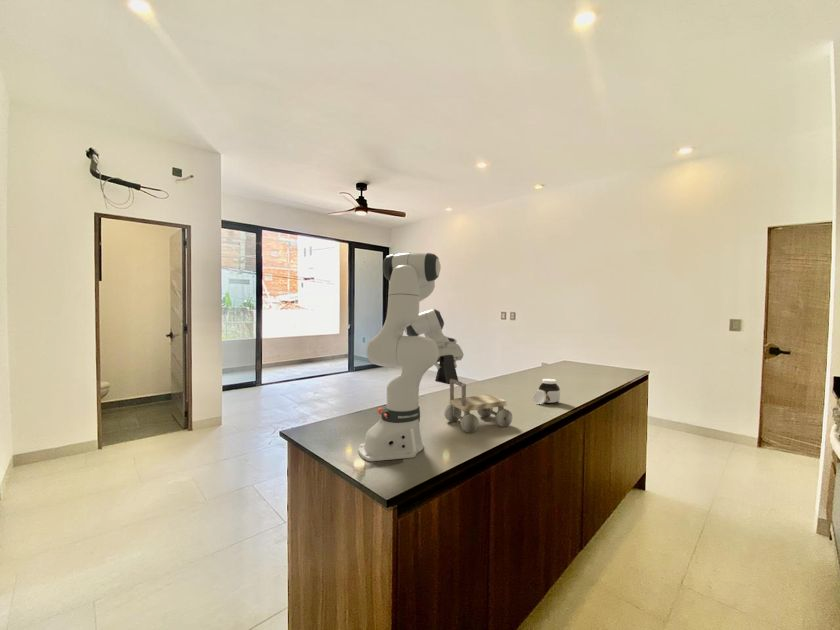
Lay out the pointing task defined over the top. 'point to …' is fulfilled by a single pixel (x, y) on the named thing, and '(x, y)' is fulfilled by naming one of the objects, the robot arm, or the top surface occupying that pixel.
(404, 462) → the top surface
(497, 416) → the wheeled trolley
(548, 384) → the spread jar
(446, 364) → the door stopper
